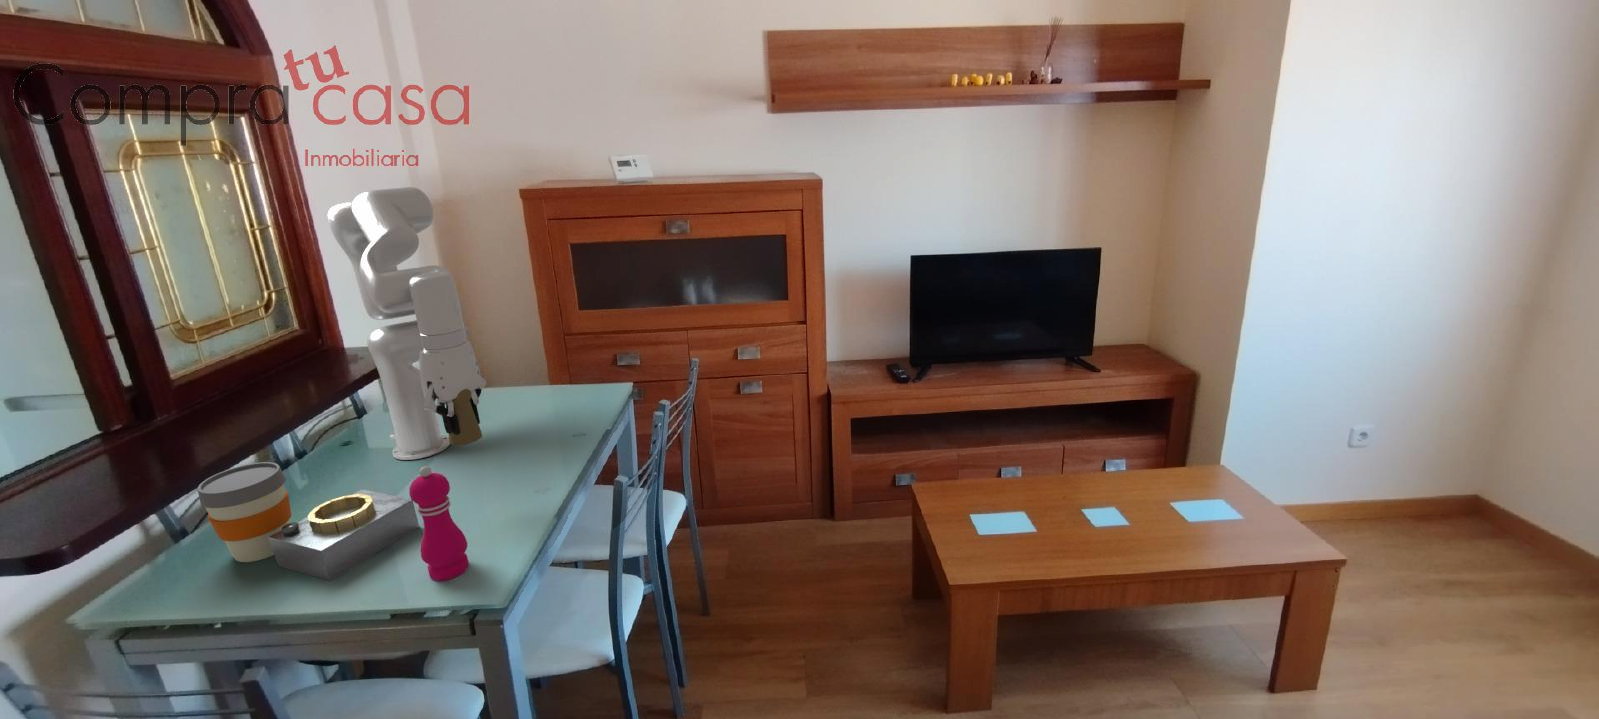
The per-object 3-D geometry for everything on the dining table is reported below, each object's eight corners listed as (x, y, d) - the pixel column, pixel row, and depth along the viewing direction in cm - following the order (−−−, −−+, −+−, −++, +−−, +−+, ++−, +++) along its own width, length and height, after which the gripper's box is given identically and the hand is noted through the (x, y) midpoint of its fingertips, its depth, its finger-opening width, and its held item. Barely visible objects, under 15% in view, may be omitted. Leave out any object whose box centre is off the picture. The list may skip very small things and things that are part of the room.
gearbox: (278, 565, 125) (265, 527, 123) (369, 515, 141) (359, 480, 138) (330, 580, 120) (317, 540, 117) (419, 526, 136) (410, 490, 133)
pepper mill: (436, 560, 124) (411, 459, 118) (478, 556, 125) (455, 455, 119) (419, 584, 117) (391, 479, 111) (463, 580, 118) (437, 475, 112)
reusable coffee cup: (204, 569, 125) (176, 496, 121) (255, 531, 137) (231, 463, 133) (273, 566, 125) (248, 492, 120) (318, 528, 137) (297, 459, 132)
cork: (489, 433, 138) (478, 382, 135) (466, 446, 133) (454, 393, 129) (465, 430, 140) (454, 379, 136) (441, 443, 135) (429, 390, 131)
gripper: (464, 325, 138) (482, 410, 144) (390, 351, 124) (412, 444, 130) (493, 328, 136) (510, 414, 142) (420, 354, 121) (442, 449, 127)
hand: (463, 427), depth 136 cm, fingers closed on cork, 4 cm apart
